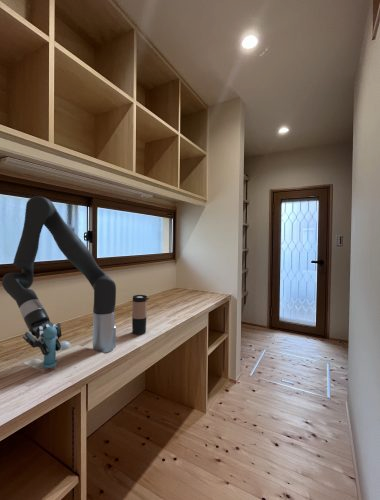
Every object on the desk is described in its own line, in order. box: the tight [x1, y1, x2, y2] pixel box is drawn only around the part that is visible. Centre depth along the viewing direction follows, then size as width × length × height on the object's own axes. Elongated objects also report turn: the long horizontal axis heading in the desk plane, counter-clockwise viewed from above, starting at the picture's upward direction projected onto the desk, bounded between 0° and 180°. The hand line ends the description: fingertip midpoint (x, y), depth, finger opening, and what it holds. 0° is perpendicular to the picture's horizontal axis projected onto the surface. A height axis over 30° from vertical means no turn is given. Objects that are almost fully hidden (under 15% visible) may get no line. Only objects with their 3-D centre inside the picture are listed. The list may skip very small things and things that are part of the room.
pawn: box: [42, 326, 58, 369], centre depth 94 cm, size 5×5×14 cm
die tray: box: [56, 340, 72, 353], centre depth 112 cm, size 10×8×6 cm
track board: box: [23, 358, 60, 375], centre depth 97 cm, size 7×16×1 cm, turn 62°
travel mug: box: [131, 294, 148, 336], centre depth 138 cm, size 8×8×20 cm
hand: (53, 351), depth 93 cm, fingers closed on pawn, 3 cm apart
